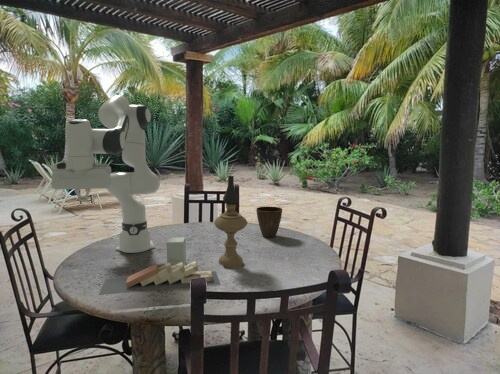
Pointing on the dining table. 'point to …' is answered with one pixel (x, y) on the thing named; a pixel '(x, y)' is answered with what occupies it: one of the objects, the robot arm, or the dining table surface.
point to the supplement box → (176, 251)
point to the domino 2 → (161, 272)
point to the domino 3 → (176, 271)
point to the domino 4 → (189, 270)
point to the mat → (121, 286)
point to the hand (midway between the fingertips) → (83, 200)
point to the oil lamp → (230, 227)
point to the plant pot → (269, 220)
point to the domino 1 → (142, 275)
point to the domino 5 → (197, 276)
